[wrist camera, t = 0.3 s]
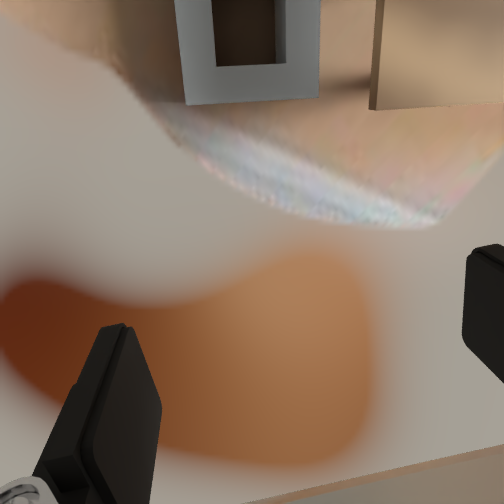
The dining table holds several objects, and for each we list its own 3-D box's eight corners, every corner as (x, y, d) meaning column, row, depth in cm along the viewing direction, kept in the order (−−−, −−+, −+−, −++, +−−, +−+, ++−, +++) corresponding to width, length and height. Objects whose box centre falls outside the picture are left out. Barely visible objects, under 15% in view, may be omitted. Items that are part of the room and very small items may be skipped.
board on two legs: (317, -54, 32) (397, -154, 18) (432, -57, 32) (588, -155, 19) (314, 101, 37) (376, 110, 23) (414, 95, 37) (529, 101, 24)
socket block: (172, -43, 31) (166, -64, 26) (305, -46, 32) (321, -68, 27) (188, 102, 35) (186, 105, 31) (304, 96, 36) (318, 97, 32)
